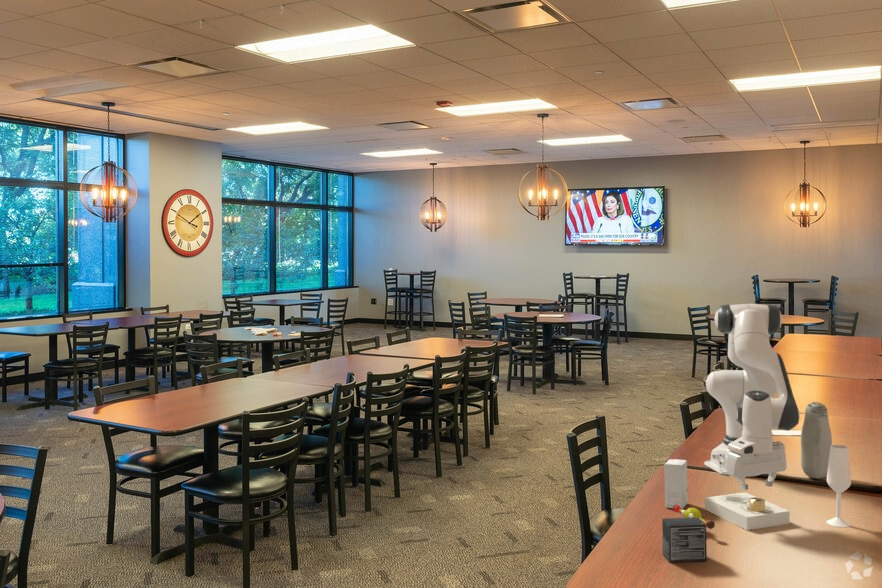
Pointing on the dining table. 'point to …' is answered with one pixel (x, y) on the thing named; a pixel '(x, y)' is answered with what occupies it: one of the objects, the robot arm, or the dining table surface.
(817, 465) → the grey bottle
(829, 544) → the dining table surface
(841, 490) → the champagne flute
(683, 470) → the skincare box
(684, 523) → the small box
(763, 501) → the bushing
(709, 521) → the toy figure
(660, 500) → the dining table surface
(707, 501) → the jig
